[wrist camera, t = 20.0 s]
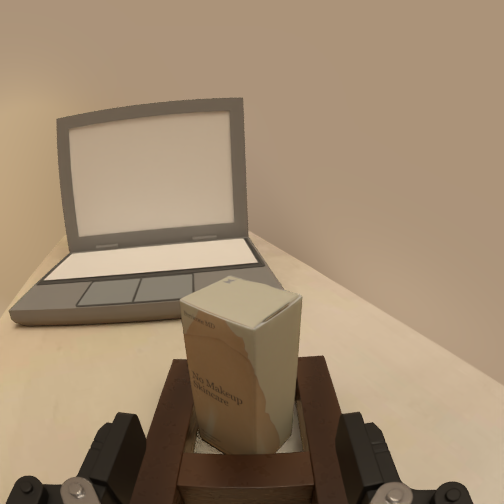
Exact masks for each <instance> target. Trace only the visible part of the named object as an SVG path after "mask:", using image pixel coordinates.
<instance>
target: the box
mask: <svg viewBox="0 0 504 504" xmlns="http://www.w3.org/2000/svg"><path fill="white" fill-rule="evenodd" d="M180 309H181V317H182V325H183V333H184V340H185V348H186V354H187V362H188V369H189V375H190V382H191V388H192V394H193V400H194V406H195V412H196V417H197V422H198V428H199V433H200V437H201V438H202V439H203V440H205V441H206V442H208V443H209V444H211V445H213V446H214V447H216V448H217V449H219V450H220V451H222V452H224V453H225V454H274V453H275V452H276V451H277V450H278V449H279V448H280V447H281V446H282V444H283V443H284V442H285V441H286V440H287V439H288V438H289V436H290V435H291V433H292V422H293V411H294V399H295V388H296V377H297V366H298V352H299V338H300V323H301V309H302V296H301V295H300V294H297V293H293V292H289V291H285V290H282V289H278V288H275V287H271V286H269V285H266V284H262V283H257V282H252V281H249V280H245V279H241V278H238V277H234V276H228V277H226V278H224V279H222V280H220V281H218V282H215V283H213V284H211V285H209V286H207V287H205V288H203V289H200V290H198V291H196V292H194V293H191V294H189V295H187V296H185V297H183V298H181V299H180Z"/></svg>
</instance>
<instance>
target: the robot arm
mask: <svg viewBox="0 0 504 504" xmlns="http://www.w3.org/2000/svg"><path fill="white" fill-rule="evenodd" d="M335 448H336V454H337V458H338V462H339V466H340V471H341V475H342V479H343V484H344V488H345V493H346V497H347V502H348V504H473V502H472V500H471V497H470V495H469V492H468V490H467V488H466V487H465V486H464V485H462V484H461V483H458V482H447V483H444V484H442V485H441V486H440V487H439V488H438V489H437V490H414V489H411V488H409V487H408V486H407V485H405V484H403V483H402V481H401V480H400V478H399V475H398V473H397V470H396V467H395V465H394V462H393V459H392V457H391V454H390V451H389V450H388V446H387V444H386V443H385V439H384V436H383V433H382V431H381V430H380V429H379V428H378V427H377V426H376V425H375V424H374V423H373V422H372V423H366V424H364V421H363V418H362V415H361V413H360V412H354V413H346V414H341V415H340V418H339V423H338V428H337V433H336V438H335ZM145 451H146V437H145V435H144V432H143V429H142V427H141V424H140V421H139V419H138V416H137V415H136V414H129V413H121V412H118V413H117V414H116V416H115V419H114V421H113V423H106V424H105V425H103V426H102V427H101V428H100V429H99V430H98V432H97V434H96V436H95V438H94V441H93V443H92V445H91V449H89V451H88V453H87V455H86V457H85V460H84V462H83V464H82V466H81V468H80V471H79V473H78V475H77V476H76V477H73V478H70V479H68V480H66V481H65V482H64V483H63V484H62V485H49V484H42V483H41V482H40V481H39V480H38V479H37V478H36V477H33V476H23V477H21V478H19V479H18V480H17V481H16V483H15V484H14V487H13V489H12V491H11V493H10V495H9V497H8V499H7V502H6V504H130V500H131V497H132V494H133V490H134V487H135V484H136V480H137V477H138V474H139V471H140V467H141V464H142V461H143V458H144V455H145Z"/></svg>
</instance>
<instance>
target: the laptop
mask: <svg viewBox="0 0 504 504" xmlns="http://www.w3.org/2000/svg"><path fill="white" fill-rule="evenodd" d="M57 149H58V165H59V177H60V187H61V197H62V205H63V213H64V220H65V227H66V234H67V240H68V246H69V251H70V253H69V254H68V255H67V256H66V257H64V258H63V259H62V260H61V261H60V262H59V263H58V264H57V265H55V266H54V267H53V268H52V269H51V270H50V271H49V272H48V273H47V274H46V275H45V276H44V277H42V278H41V279H40V280H39V281H38V282H37V283H36V284H35V285H34V286H33V287H32V288H31V289H30V290H29V291H28V292H27V293H26V294H25V295H24V296H23V297H22V298H21V299H20V300H19V301H18V302H17V303H16V304H15V305H14V306H13V307H12V308H11V309H10V310H9V313H10V316H11V319H12V320H13V321H14V322H16V323H19V324H22V325H24V326H35V325H75V324H99V323H118V322H135V321H150V320H164V319H176V318H182V317H181V309H180V299H181V298H183V297H185V296H187V295H189V294H191V293H194V292H196V291H198V290H200V289H203V288H205V287H207V286H209V285H211V284H213V283H215V282H218V281H220V280H222V279H224V278H226V277H228V276H234V277H238V278H241V279H245V280H249V281H252V282H257V283H262V284H266V285H269V286H271V287H275V288H278V289H282V290H284V288H283V287H282V285H281V284H280V283H279V281H278V280H277V278H276V277H275V275H274V274H273V272H272V271H271V269H270V268H269V266H268V265H267V263H266V262H265V260H264V259H263V257H262V256H261V255H260V253H259V252H258V250H257V249H256V247H255V246H254V244H253V243H252V241H251V240H250V238H249V237H248V215H247V190H246V165H245V137H244V111H243V98H213V99H196V100H182V101H169V102H159V103H150V104H141V105H133V106H126V107H119V108H112V109H106V110H100V111H94V112H89V113H83V114H78V115H73V116H68V117H63V118H59V119H57Z"/></svg>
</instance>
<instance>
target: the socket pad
mask: <svg viewBox="0 0 504 504" xmlns="http://www.w3.org/2000/svg"><path fill="white" fill-rule="evenodd" d="M294 400H296V407H297V413H298V420H299V426H300V433H301V440H302V447H303V452H293V453H277V454H201V453H194V447H195V441H196V436H197V430H198V422H197V417H196V412H195V406H194V400H193V394H192V388H191V382H190V375H189V369H188V362H187V359H173V362H172V365H171V368H170V370H169V373H168V376H167V379H166V382H165V385H164V388H163V391H162V393H161V396H160V399H159V402H158V405H157V408H156V411H155V414H154V417H153V420H152V423H151V426H150V429H149V432H148V435H147V438H146V451H145V455H144V458H143V461H142V464H141V467H140V471H139V474H138V477H137V480H136V484H135V487H134V490H133V494H132V497H131V500H130V504H310V503H311V504H348V502H347V497H346V493H345V488H344V484H343V479H342V475H341V471H340V466H339V462H338V458H337V454H336V448H335V438H336V433H337V428H338V423H339V418H340V415H341V414H342V413H341V409H340V406H339V403H338V400H337V396H336V393H335V390H334V387H333V383H332V380H331V377H330V374H329V371H328V367H327V364H326V361H325V358H324V356H311V357H298V366H297V377H296V388H295V399H294Z"/></svg>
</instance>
